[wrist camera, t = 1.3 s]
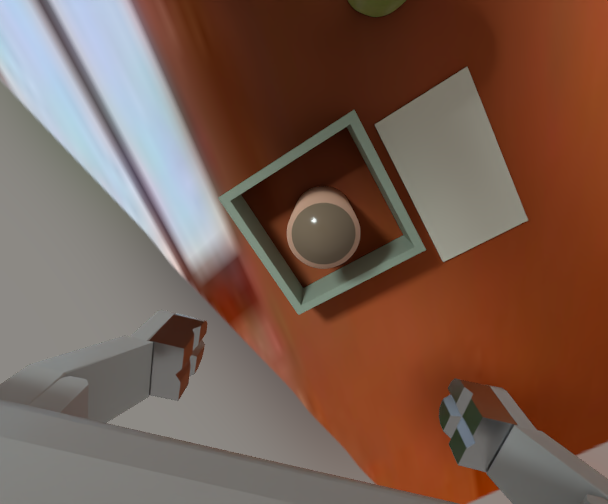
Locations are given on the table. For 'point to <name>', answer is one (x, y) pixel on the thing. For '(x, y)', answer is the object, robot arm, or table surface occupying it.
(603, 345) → the table surface
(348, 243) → the seedling pot
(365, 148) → the frame
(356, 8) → the plant pot
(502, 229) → the mat
